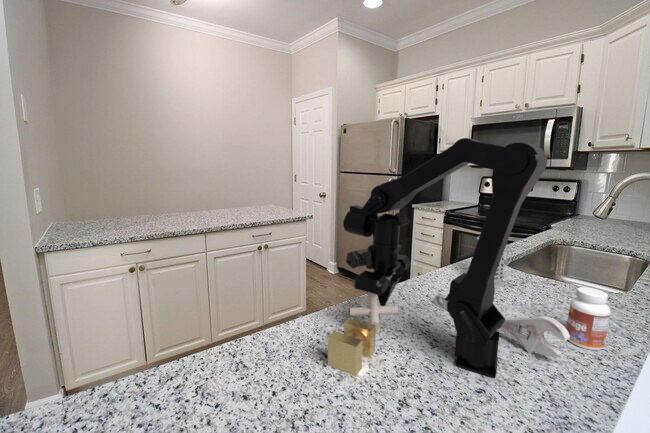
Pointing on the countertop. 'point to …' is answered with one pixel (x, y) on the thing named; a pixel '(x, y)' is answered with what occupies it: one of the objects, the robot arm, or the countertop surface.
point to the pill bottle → (588, 319)
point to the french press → (498, 281)
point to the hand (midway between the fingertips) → (382, 305)
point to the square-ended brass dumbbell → (351, 346)
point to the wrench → (528, 331)
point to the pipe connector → (374, 311)
